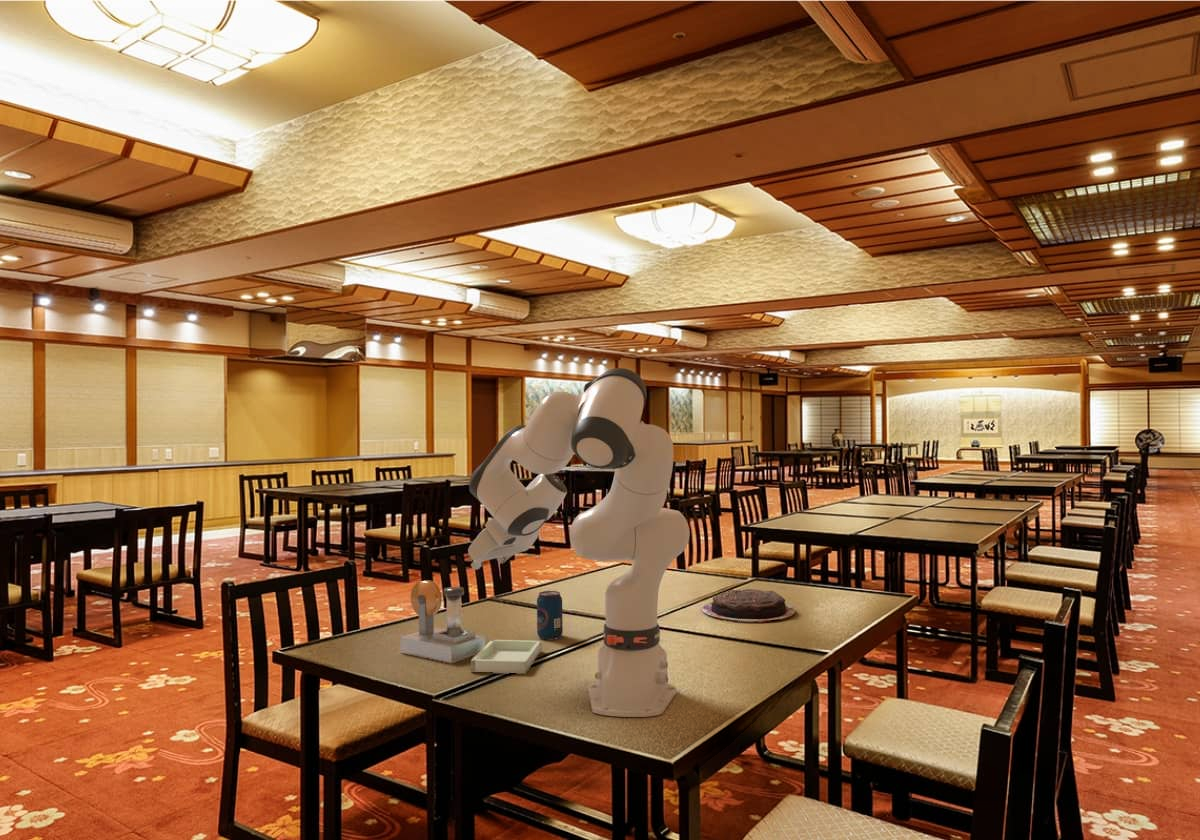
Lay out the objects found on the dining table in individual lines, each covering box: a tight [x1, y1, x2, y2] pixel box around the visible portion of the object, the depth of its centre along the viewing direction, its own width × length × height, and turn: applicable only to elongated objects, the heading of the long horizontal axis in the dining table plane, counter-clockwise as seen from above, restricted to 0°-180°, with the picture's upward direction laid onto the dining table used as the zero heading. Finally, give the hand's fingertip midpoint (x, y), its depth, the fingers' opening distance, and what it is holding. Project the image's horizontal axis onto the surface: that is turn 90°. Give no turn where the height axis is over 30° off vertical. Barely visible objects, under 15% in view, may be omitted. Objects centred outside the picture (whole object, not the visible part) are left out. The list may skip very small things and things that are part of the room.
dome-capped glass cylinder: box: [443, 586, 465, 636], centre depth 195 cm, size 5×5×12 cm
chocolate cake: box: [701, 588, 796, 623], centre depth 236 cm, size 28×28×7 cm
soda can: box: [536, 590, 564, 640], centre depth 210 cm, size 7×7×12 cm
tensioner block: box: [400, 579, 486, 664], centre depth 198 cm, size 20×12×18 cm, turn 56°
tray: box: [470, 639, 542, 675], centre depth 188 cm, size 18×13×3 cm
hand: (487, 564), depth 188 cm, fingers open, 8 cm apart
